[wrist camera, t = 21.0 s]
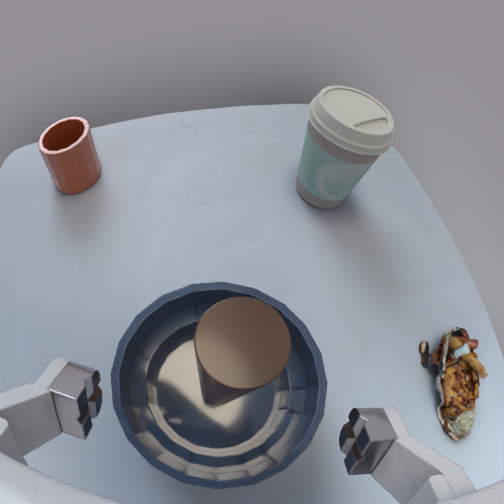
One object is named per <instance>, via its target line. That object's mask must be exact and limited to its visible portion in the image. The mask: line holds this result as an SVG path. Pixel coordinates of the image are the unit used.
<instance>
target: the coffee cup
mask: <svg viewBox="0 0 504 504" xmlns="http://www.w3.org/2000/svg"><path fill="white" fill-rule="evenodd" d="M307 112H308V117H309V120H308V125H307V130H306V135H305V140H304V146H303V151H302V156H301V161H300V166H299V171H298V176H297V181H296V187H297V190H298V193H299V194H300V196H301V197H302V198H303V199H304V200H305V201H306V202H308V203H309V204H311V205H313V206H315V207H318V208H322V209H331V208H335V207H337V206H338V205H340V204H341V203H342V201H343V200H344V199H345V198H346V197H347V195H348V194H349V193H350V192H351V190H352V189H353V188H354V187H355V186H356V184H357V183H358V182H359V181H360V179H361V178H362V177H363V176H364V174H365V173H366V172H367V171H368V169H369V168H370V167H371V166H372V164H373V163H374V162H375V161H376V159H377V158H378V157H379V156H380V154H382V153H384V152H386V151H387V150H388V149H389V148H390V146H391V142H392V140H393V130H394V120H393V118H392V116H391V114H390V113H389V111H388V110H387V109H386V108H385V107H384V106H383V105H382V104H381V103H380V102H379V101H377V100H376V99H375V98H373V97H371V96H370V95H368V94H366V93H364V92H362V91H359V90H356V89H353V88H350V87H345V86H329V87H326V88H324V89H322V90H321V92H320V93H319V94H318V96H316V97H315V98H314V99H313V100H312V102H311V103H310V105H309V107H308V111H307Z"/></svg>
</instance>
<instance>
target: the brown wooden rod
mask: <svg viewBox="0 0 504 504" xmlns="http://www.w3.org/2000/svg"><path fill="white" fill-rule="evenodd" d="M194 349H195V356H196V363H197V369H198V375H199V382H200V388H201V393H202V396H203V398H204V399H205V401H207V402H208V403H209V404H211V405H215V406H221V405H224V404H226V403H229V402H231V401H233V400H235V399H238V398H240V397H242V396H244V395H246V394H248V393H251V392H253V391H255V390H257V389H259V388H261V387H263V386H265V385H267V384H269V383H270V382H272V381H273V380H275V379H276V378H277V377H278V376H279V375H280V374H281V372H282V371H283V370H284V368H285V367H286V365H287V362H288V360H289V357H290V352H291V338H290V333H289V330H288V327H287V325H286V323H285V321H284V320H283V318H282V317H281V315H280V314H279V313H278V312H277V311H276V310H275V309H274V308H272V307H271V306H270V305H268V304H266V303H264V302H262V301H260V300H257V299H254V298H250V297H233V298H228V299H225V300H222V301H220V302H218V303H216V304H215V305H213V306H212V307H211V308H209V309H208V310H207V311H206V312H205V313H204V315H203V316H202V317H201V319H200V321H199V323H198V325H197V327H196V331H195V336H194Z"/></svg>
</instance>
